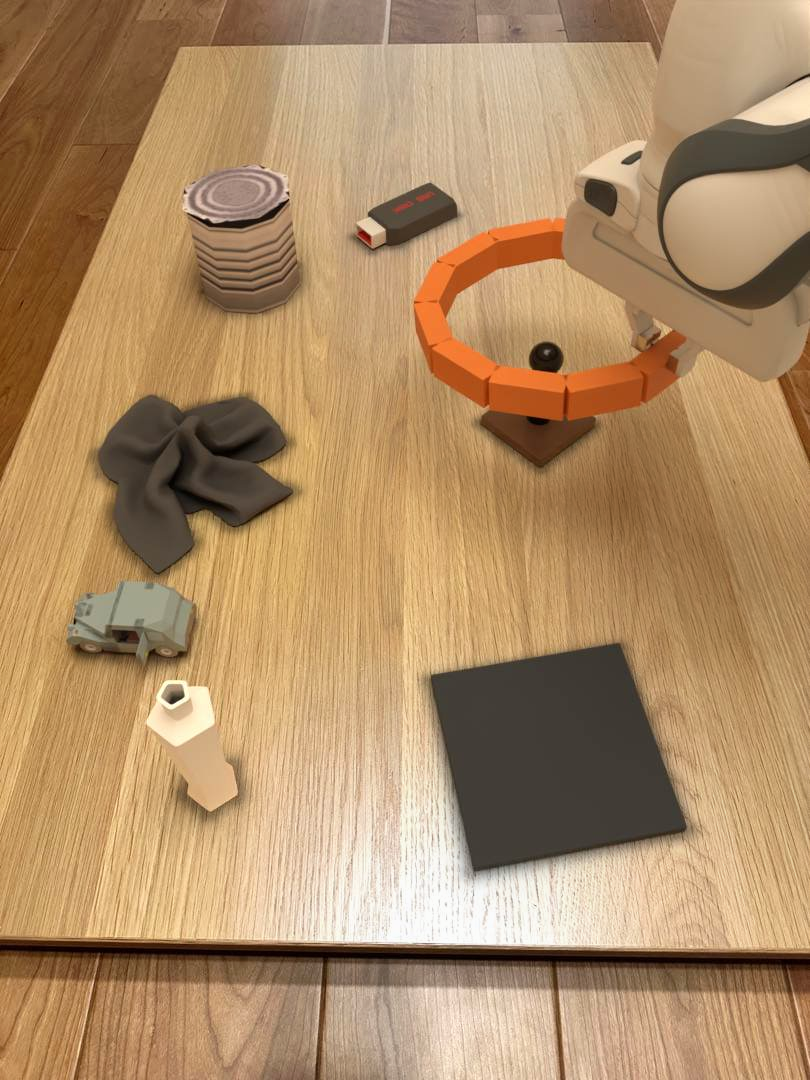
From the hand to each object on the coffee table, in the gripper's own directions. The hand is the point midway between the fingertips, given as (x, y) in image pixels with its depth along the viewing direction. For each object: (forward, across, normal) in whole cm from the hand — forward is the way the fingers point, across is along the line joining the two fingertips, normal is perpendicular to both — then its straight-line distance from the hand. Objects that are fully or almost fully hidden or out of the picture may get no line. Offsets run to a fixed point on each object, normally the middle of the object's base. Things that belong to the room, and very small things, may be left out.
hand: (661, 358), depth 78 cm
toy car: (+17, +18, +43) cm, 50 cm away
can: (+17, +49, +7) cm, 53 cm away
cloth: (+17, +30, +28) cm, 45 cm away
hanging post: (+17, +12, 0) cm, 21 cm away
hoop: (+3, +11, 0) cm, 11 cm away
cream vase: (+17, +3, +45) cm, 49 cm away
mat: (+17, -13, +24) cm, 32 cm away
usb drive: (+17, +45, -13) cm, 50 cm away
